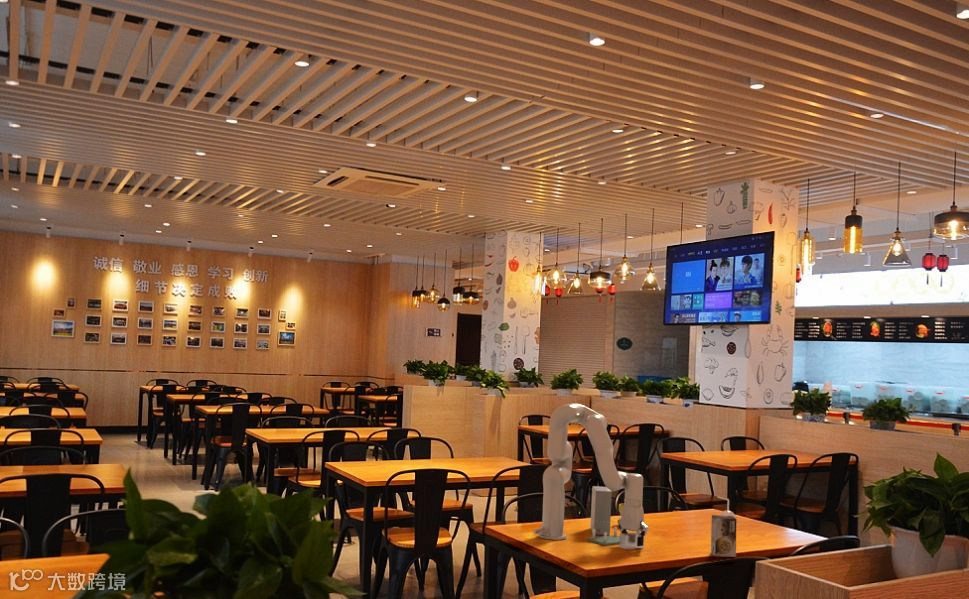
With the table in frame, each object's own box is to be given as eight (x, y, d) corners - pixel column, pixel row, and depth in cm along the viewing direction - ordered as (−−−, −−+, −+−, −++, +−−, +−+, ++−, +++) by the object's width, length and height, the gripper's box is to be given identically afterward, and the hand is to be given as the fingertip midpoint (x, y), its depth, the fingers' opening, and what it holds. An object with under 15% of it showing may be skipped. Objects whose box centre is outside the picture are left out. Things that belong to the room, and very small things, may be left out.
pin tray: (604, 545, 367) (605, 534, 367) (587, 540, 376) (587, 528, 376) (632, 542, 377) (633, 530, 377) (615, 537, 386) (615, 526, 386)
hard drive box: (610, 536, 388) (612, 491, 389) (593, 535, 388) (595, 490, 390) (606, 529, 404) (607, 486, 405) (589, 528, 404) (591, 485, 405)
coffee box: (731, 553, 364) (732, 515, 366) (736, 557, 358) (737, 518, 359) (710, 552, 364) (711, 514, 365) (714, 556, 358) (715, 517, 359)
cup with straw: (733, 544, 384) (735, 499, 386) (713, 540, 389) (715, 496, 390) (738, 541, 391) (740, 497, 393) (719, 537, 396) (720, 494, 398)
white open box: (625, 549, 362) (625, 535, 362) (619, 547, 365) (619, 533, 366) (643, 548, 366) (644, 534, 367) (637, 546, 370) (638, 532, 370)
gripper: (612, 500, 372) (611, 540, 371) (642, 507, 358) (640, 548, 357) (625, 499, 376) (623, 538, 375) (654, 505, 362) (653, 546, 361)
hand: (631, 543), depth 366 cm, fingers open, 9 cm apart
